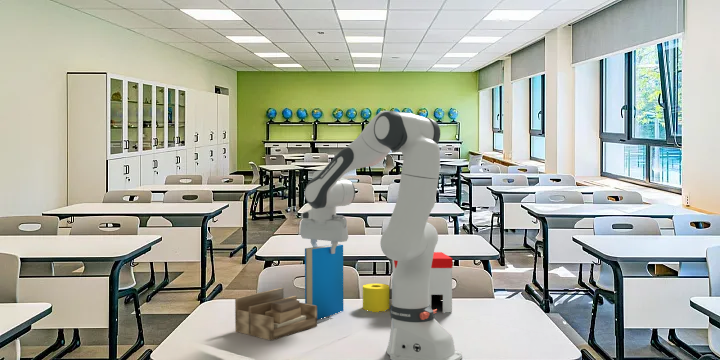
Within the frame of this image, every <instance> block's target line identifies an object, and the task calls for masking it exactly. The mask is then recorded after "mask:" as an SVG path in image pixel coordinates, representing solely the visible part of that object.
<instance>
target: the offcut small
mask: <svg viewBox="0 0 720 360" xmlns="http://www.w3.org/2000/svg"><path fill="white" fill-rule="evenodd" d="M299 302H300V300H293V299H285V300H281V301H276V302H272V303H271V310H272V311H276V312H280V313H282V312H286V311H290V310H294V309H298V308H299Z"/></svg>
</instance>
